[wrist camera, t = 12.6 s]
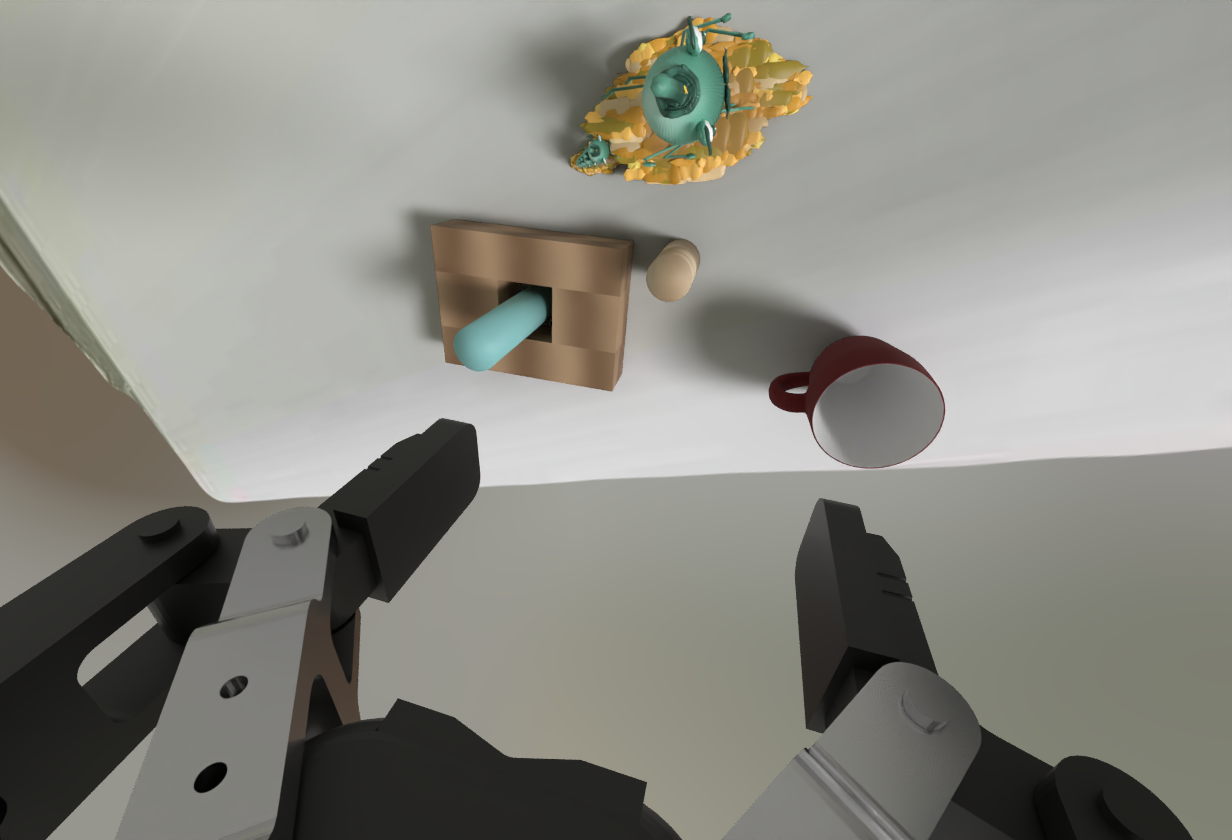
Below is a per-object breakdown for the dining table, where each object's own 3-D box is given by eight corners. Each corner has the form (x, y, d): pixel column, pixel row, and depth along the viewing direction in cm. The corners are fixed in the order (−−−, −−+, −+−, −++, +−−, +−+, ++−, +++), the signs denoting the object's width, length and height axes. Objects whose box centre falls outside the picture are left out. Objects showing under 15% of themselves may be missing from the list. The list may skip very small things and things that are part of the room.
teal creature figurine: (549, 55, 35) (471, -11, 22) (810, 2, 32) (898, -112, 19) (573, 199, 39) (519, 215, 26) (804, 165, 36) (874, 163, 23)
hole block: (633, 241, 40) (623, 249, 36) (621, 373, 46) (612, 391, 42) (455, 219, 42) (430, 225, 39) (466, 347, 48) (445, 362, 45)
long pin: (559, 284, 43) (495, 331, 32) (559, 319, 45) (497, 374, 33) (525, 279, 43) (451, 323, 32) (526, 314, 45) (455, 367, 34)
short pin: (702, 241, 38) (695, 258, 33) (696, 281, 40) (688, 304, 34) (663, 236, 39) (648, 252, 33) (658, 276, 41) (644, 298, 35)
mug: (775, 416, 44) (783, 480, 36) (759, 334, 41) (763, 383, 32) (905, 395, 41) (947, 461, 32) (899, 304, 37) (944, 349, 29)
